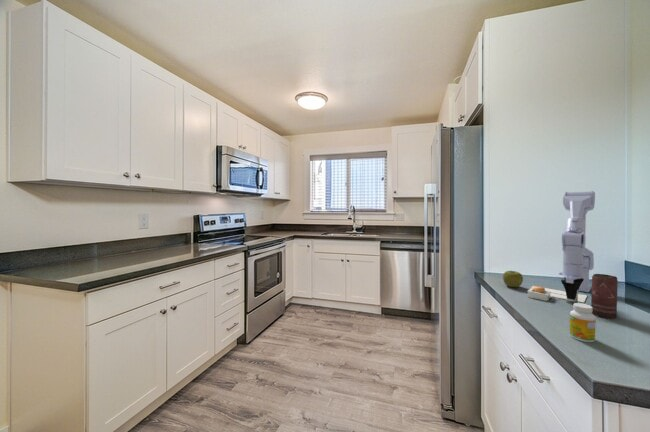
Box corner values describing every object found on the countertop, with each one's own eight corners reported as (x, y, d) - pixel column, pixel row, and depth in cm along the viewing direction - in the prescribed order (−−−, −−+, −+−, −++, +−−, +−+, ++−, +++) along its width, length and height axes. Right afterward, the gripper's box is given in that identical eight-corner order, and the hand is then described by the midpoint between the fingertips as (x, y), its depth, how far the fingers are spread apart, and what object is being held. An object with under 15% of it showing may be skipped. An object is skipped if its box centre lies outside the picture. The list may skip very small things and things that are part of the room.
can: (622, 319, 88) (624, 278, 88) (600, 318, 89) (601, 277, 89) (607, 312, 94) (608, 273, 93) (586, 311, 95) (587, 273, 95)
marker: (566, 300, 106) (567, 281, 105) (578, 303, 103) (579, 282, 103) (565, 303, 103) (565, 282, 103) (577, 305, 101) (577, 284, 100)
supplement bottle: (564, 334, 80) (565, 302, 79) (580, 332, 80) (581, 301, 80) (583, 343, 74) (584, 309, 74) (600, 342, 75) (601, 308, 74)
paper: (533, 286, 124) (533, 285, 124) (587, 296, 110) (587, 295, 110) (526, 291, 117) (526, 291, 117) (583, 303, 103) (583, 302, 103)
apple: (507, 289, 121) (507, 273, 121) (499, 283, 129) (499, 269, 128) (526, 289, 119) (526, 274, 119) (517, 284, 127) (517, 269, 127)
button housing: (531, 293, 115) (531, 287, 115) (550, 297, 110) (550, 291, 110) (527, 297, 111) (527, 291, 110) (547, 301, 106) (547, 294, 106)
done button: (534, 291, 113) (534, 285, 112) (545, 293, 110) (545, 287, 110) (532, 293, 110) (532, 287, 110) (543, 295, 108) (543, 289, 107)
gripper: (562, 258, 110) (561, 290, 111) (555, 264, 101) (555, 299, 101) (586, 261, 105) (585, 294, 105) (581, 267, 95) (580, 304, 96)
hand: (572, 297), depth 103 cm, fingers open, 4 cm apart
